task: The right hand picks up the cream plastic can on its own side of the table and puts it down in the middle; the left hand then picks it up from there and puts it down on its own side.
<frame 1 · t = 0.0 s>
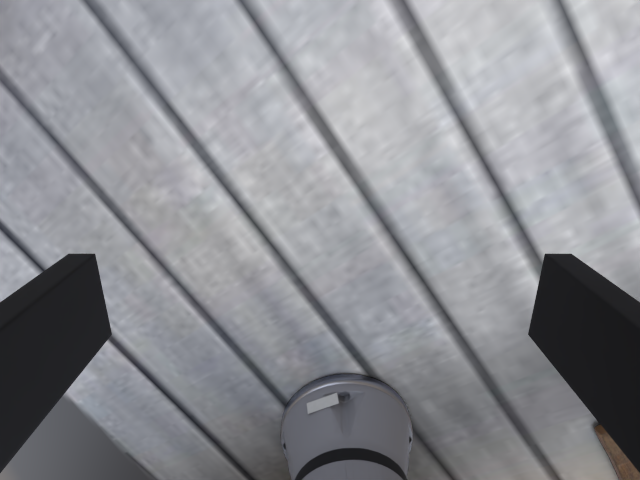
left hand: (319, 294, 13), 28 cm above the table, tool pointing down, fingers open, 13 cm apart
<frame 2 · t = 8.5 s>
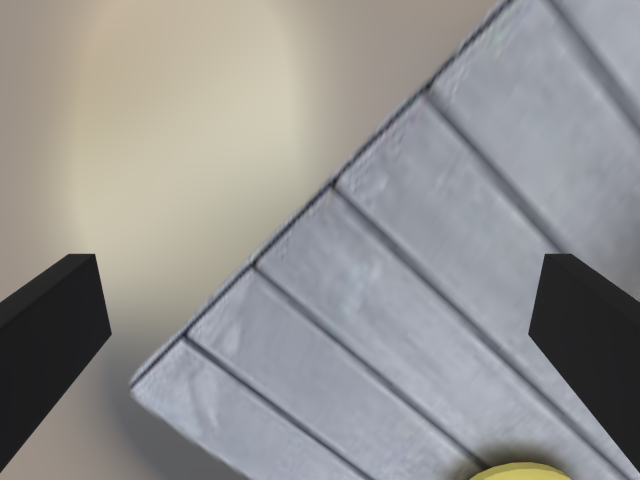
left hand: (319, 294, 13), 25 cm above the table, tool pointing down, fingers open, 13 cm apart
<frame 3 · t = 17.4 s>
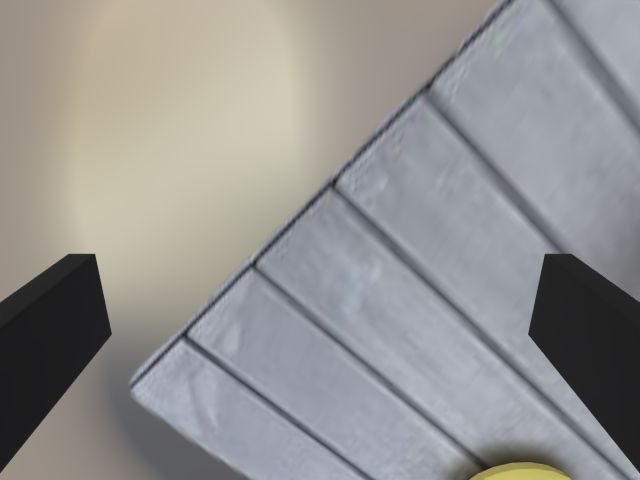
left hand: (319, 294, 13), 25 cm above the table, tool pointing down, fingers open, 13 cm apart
when the right hand's fingers open (5 cm above the table, at t = 26.5 s): can drops 2 cm, on the table.
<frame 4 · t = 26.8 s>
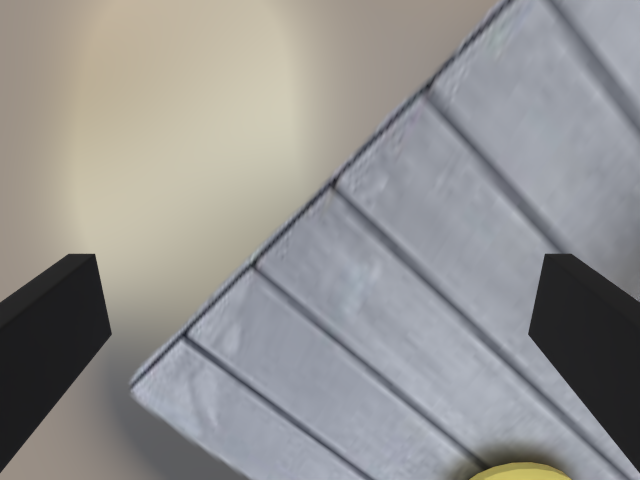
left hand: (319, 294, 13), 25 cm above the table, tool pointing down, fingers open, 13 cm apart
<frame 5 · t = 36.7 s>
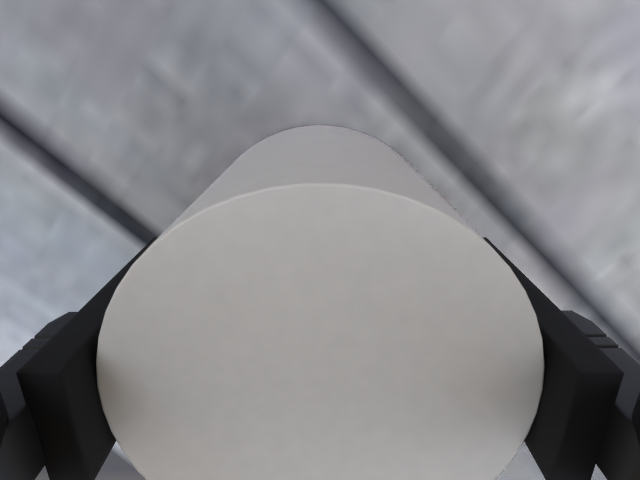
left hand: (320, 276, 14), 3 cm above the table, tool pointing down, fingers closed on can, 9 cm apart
can: (320, 241, 17), on the table, touching left hand
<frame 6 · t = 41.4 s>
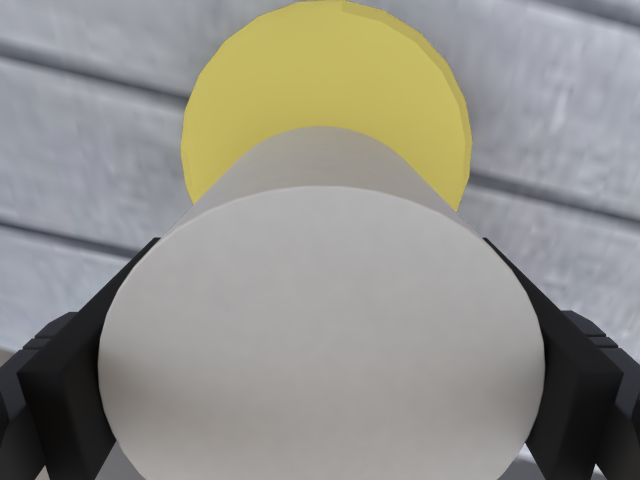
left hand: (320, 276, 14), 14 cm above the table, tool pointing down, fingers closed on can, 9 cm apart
can: (320, 242, 17), point 11 cm above the table, touching left hand
vase: (325, 154, 26), on the table
when the left hand's fingers open (5 cm above the table, at t = 46.4 s): can drops 2 cm, on the table.
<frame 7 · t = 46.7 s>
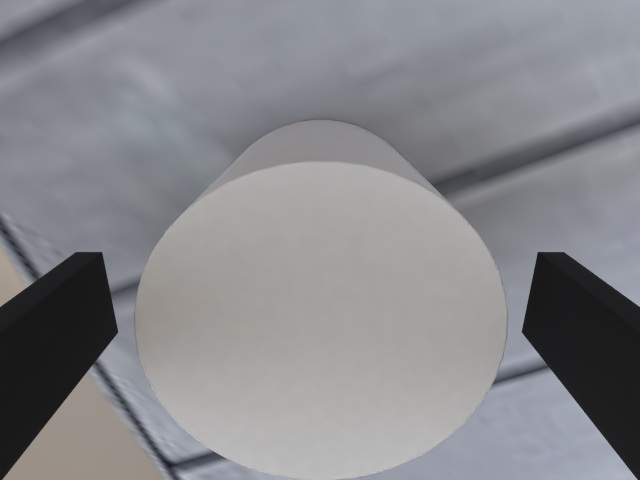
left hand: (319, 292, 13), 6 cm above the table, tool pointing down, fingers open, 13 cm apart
can: (320, 226, 18), on the table
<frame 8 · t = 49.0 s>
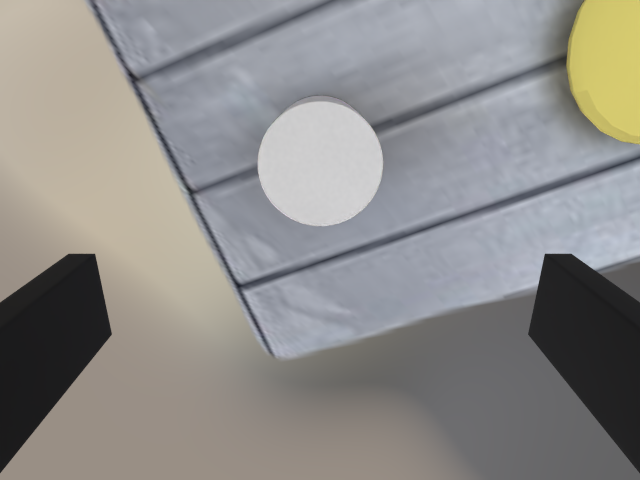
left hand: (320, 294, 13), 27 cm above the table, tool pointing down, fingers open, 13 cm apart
can: (320, 147, 38), on the table
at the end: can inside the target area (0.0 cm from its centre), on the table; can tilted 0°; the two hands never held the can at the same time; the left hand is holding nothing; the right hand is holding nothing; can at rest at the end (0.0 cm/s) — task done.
